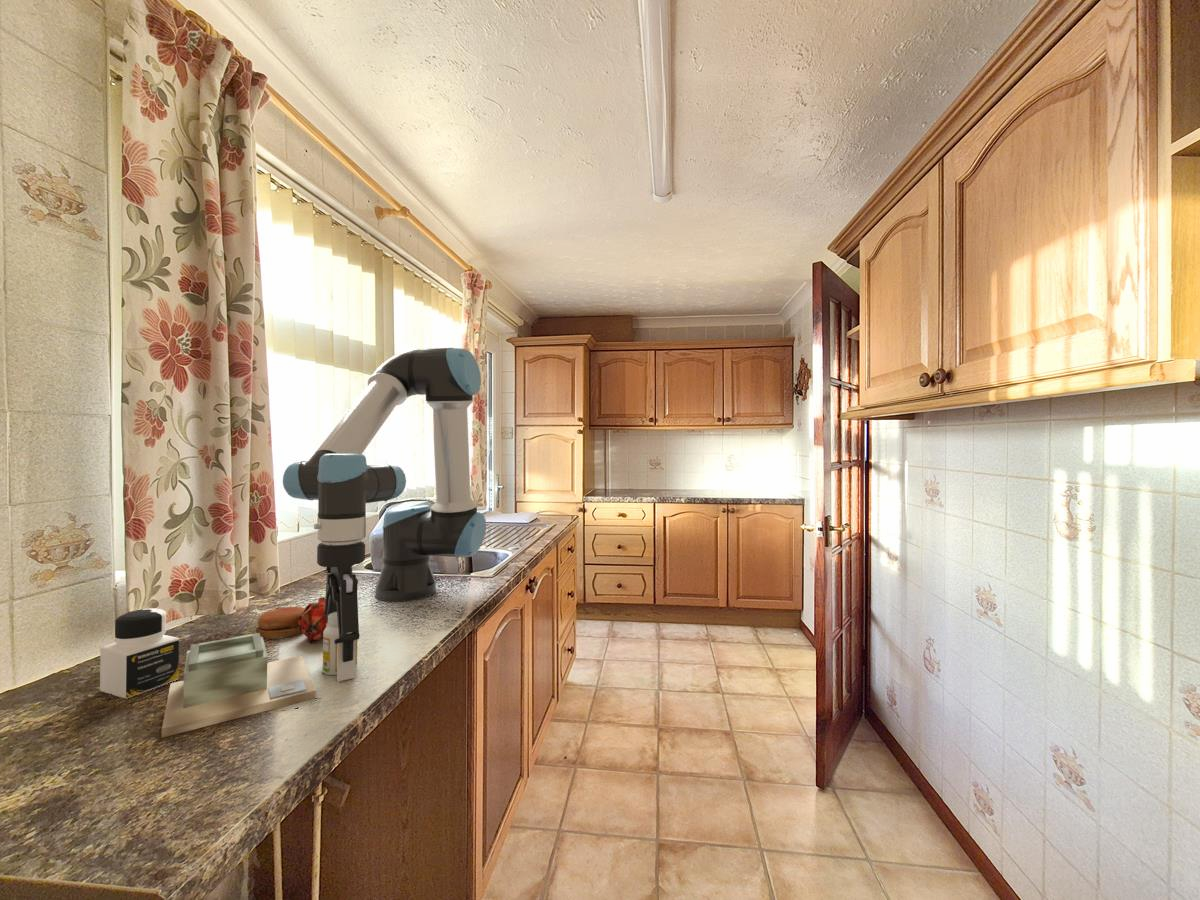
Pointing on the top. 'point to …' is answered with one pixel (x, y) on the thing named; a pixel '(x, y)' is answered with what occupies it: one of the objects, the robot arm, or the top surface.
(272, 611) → the burger
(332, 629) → the supplement bottle
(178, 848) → the top surface
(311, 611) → the dragon fruit
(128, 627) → the medicine bottle
